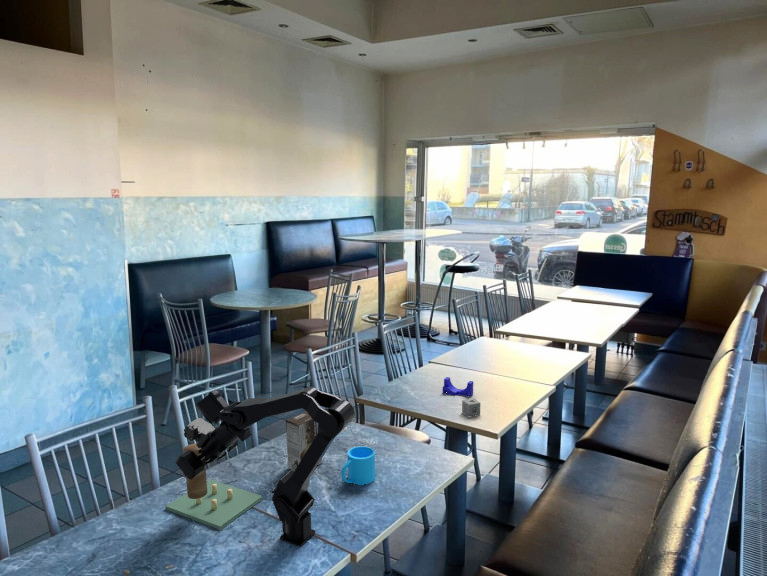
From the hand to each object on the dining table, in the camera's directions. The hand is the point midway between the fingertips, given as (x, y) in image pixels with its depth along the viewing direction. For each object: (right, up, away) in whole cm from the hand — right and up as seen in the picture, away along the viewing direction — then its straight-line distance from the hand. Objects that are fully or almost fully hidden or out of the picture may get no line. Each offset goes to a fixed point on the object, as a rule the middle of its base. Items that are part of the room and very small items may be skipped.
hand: (191, 469), depth 145 cm
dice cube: (+84, -1, +67) cm, 107 cm away
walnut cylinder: (+1, -7, +1) cm, 7 cm away
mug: (+43, -9, +18) cm, 47 cm away
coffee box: (+26, -8, +27) cm, 38 cm away
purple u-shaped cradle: (+82, +3, +88) cm, 120 cm away
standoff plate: (+4, -11, +6) cm, 14 cm away
